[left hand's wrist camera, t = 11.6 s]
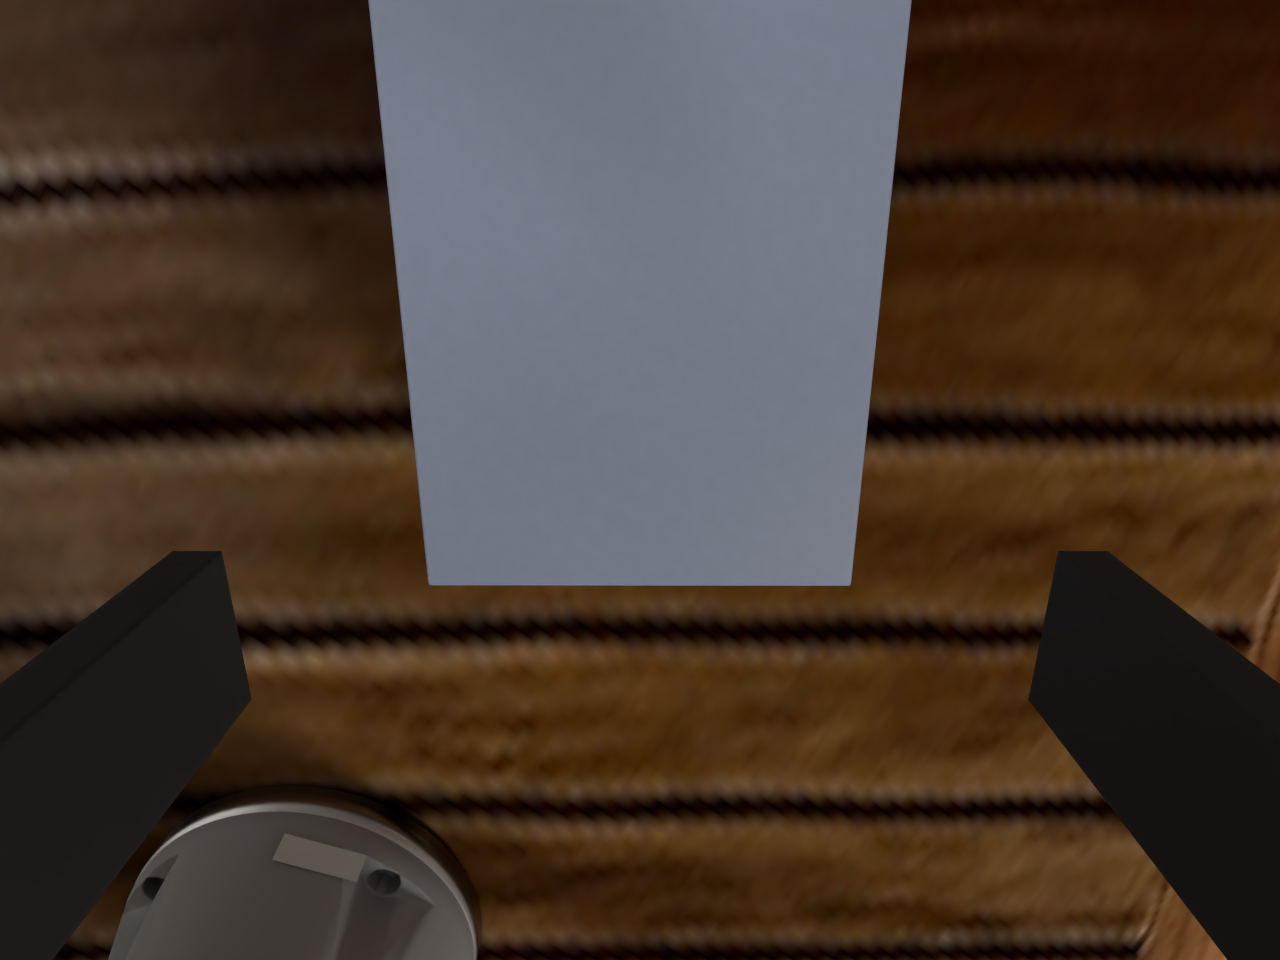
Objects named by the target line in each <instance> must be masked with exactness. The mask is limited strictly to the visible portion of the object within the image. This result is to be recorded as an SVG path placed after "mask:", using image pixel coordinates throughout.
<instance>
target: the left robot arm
mask: <svg viewBox="0 0 1280 960" xmlns="http://www.w3.org/2000/svg"><path fill="white" fill-rule="evenodd" d="M250 701H251V694H250V690H249V685H248V680H247V675H246V670H245V665H244V660H243V655H242V650H241V645H240V640H239V635H238V630H237V625H236V620H235V615H234V610H233V605H232V600H231V596H230V591H229V586H228V581H227V576H226V571H225V566H224V561H223V556H222V551H172V552H171V553H170V554H169V555H167V556H166V557H165V558H163V559H162V560H161V561H159V562H158V563H157V564H156V565H154V566H153V567H152V568H150V569H149V570H148V571H147V572H145V573H144V574H143V575H141V576H140V577H139V578H137V579H136V580H135V581H134V582H132V583H131V584H130V585H128V586H127V587H126V588H124V589H123V590H122V591H121V592H119V593H118V594H117V595H115V596H114V597H113V598H111V599H110V600H109V601H108V602H106V603H105V604H104V605H102V606H101V607H100V608H98V609H97V610H96V611H95V612H93V613H92V614H91V615H89V616H88V617H87V618H86V619H84V620H83V621H82V622H80V623H79V624H78V625H76V626H75V627H74V628H73V629H71V630H70V631H69V632H67V633H66V634H65V635H63V636H62V637H61V638H60V639H58V640H57V641H56V642H54V643H53V644H52V645H50V646H49V647H48V648H47V649H45V650H44V651H43V652H41V653H40V654H39V655H37V656H36V657H35V658H34V659H32V660H31V661H30V662H28V663H27V664H26V665H24V666H23V667H22V668H21V669H19V670H18V671H17V672H15V673H14V674H13V675H12V676H10V677H9V678H8V679H6V680H5V681H4V682H2V683H1V684H0V960H53V958H54V957H55V956H56V954H57V953H58V952H59V951H60V949H61V948H62V947H63V945H64V944H65V943H66V941H67V940H68V939H69V937H70V936H71V935H72V934H73V932H74V931H75V930H76V928H77V927H78V926H79V924H80V923H81V922H82V920H83V919H84V918H85V917H86V915H87V914H88V913H89V911H90V910H91V909H92V907H93V906H94V905H95V903H96V902H97V901H98V900H99V898H100V897H101V896H102V894H103V893H104V892H105V890H106V889H107V888H108V886H109V885H110V884H111V883H112V881H113V880H114V879H115V877H116V876H117V875H118V873H119V872H120V871H121V869H122V868H123V867H124V866H125V864H126V863H127V862H128V860H129V859H130V858H131V856H132V855H133V854H134V852H135V851H136V850H137V849H138V847H139V846H140V845H141V843H142V842H143V841H144V839H145V838H146V837H147V835H148V834H149V833H150V832H151V830H152V829H153V828H154V826H155V825H156V824H157V822H158V821H159V820H160V818H161V817H162V816H163V815H164V813H165V812H166V811H167V809H168V808H169V807H170V805H171V804H172V803H173V801H174V800H175V799H176V798H177V796H178V795H179V794H180V792H181V791H182V790H183V788H184V787H185V786H186V784H187V783H188V782H189V781H190V779H191V778H192V777H193V775H194V774H195V773H196V771H197V770H198V769H199V767H200V766H201V765H202V764H203V762H204V761H205V760H206V758H207V757H208V756H209V754H210V753H211V752H212V750H213V749H214V748H215V747H216V745H217V744H218V743H219V741H220V740H221V739H222V737H223V736H224V735H225V733H226V732H227V731H228V730H229V728H230V727H231V726H232V724H233V723H234V722H235V720H236V719H237V718H238V716H239V715H240V714H241V713H242V711H243V710H244V709H245V707H246V706H247V705H248V703H249V702H250ZM1029 701H1030V702H1031V703H1032V705H1033V706H1034V707H1035V709H1036V710H1037V711H1038V713H1039V714H1040V715H1041V716H1042V718H1043V719H1044V720H1045V722H1046V723H1047V724H1048V726H1049V727H1050V728H1051V730H1052V731H1053V732H1054V733H1055V735H1056V736H1057V737H1058V739H1059V740H1060V741H1061V743H1062V744H1063V745H1064V747H1065V748H1066V749H1067V750H1068V752H1069V753H1070V754H1071V756H1072V757H1073V758H1074V760H1075V761H1076V762H1077V764H1078V765H1079V766H1080V767H1081V769H1082V770H1083V771H1084V773H1085V774H1086V775H1087V777H1088V778H1089V779H1090V781H1091V782H1092V783H1093V784H1094V786H1095V787H1096V788H1097V790H1098V791H1099V792H1100V794H1101V795H1102V796H1103V798H1104V799H1105V800H1106V801H1107V803H1108V804H1109V805H1110V807H1111V808H1112V809H1113V811H1114V812H1115V813H1116V815H1117V816H1118V817H1119V818H1120V820H1121V821H1122V822H1123V824H1124V825H1125V826H1126V828H1127V829H1128V830H1129V832H1130V833H1131V834H1132V835H1133V837H1134V838H1135V839H1136V841H1137V842H1138V843H1139V845H1140V846H1141V847H1142V849H1143V850H1144V851H1145V852H1146V854H1147V855H1148V856H1149V858H1150V859H1151V860H1152V862H1153V863H1154V864H1155V866H1156V867H1157V868H1158V869H1159V871H1160V872H1161V873H1162V875H1163V876H1164V877H1165V879H1166V880H1167V881H1168V883H1169V884H1170V885H1171V886H1172V888H1173V889H1174V890H1175V892H1176V893H1177V894H1178V896H1179V897H1180V898H1181V900H1182V901H1183V902H1184V903H1185V905H1186V906H1187V907H1188V909H1189V910H1190V911H1191V913H1192V914H1193V915H1194V917H1195V918H1196V919H1197V920H1198V922H1199V923H1200V924H1201V926H1202V927H1203V928H1204V930H1205V931H1206V932H1207V934H1208V935H1209V936H1210V937H1211V939H1212V940H1213V941H1214V943H1215V944H1216V945H1217V947H1218V948H1219V949H1220V951H1221V952H1222V953H1223V954H1224V956H1225V957H1226V958H1227V960H1280V684H1279V683H1278V682H1276V681H1275V680H1274V679H1272V678H1271V677H1270V676H1268V675H1267V674H1266V673H1265V672H1263V671H1262V670H1261V669H1259V668H1258V667H1257V666H1255V665H1254V664H1253V663H1252V662H1250V661H1249V660H1248V659H1246V658H1245V657H1244V656H1243V655H1241V654H1240V653H1239V652H1237V651H1236V650H1235V649H1233V648H1232V647H1231V646H1230V645H1228V644H1227V643H1226V642H1224V641H1223V640H1222V639H1220V638H1219V637H1218V636H1217V635H1215V634H1214V633H1213V632H1211V631H1210V630H1209V629H1207V628H1206V627H1205V626H1204V625H1202V624H1201V623H1200V622H1198V621H1197V620H1196V619H1194V618H1193V617H1192V616H1191V615H1189V614H1188V613H1187V612H1185V611H1184V610H1183V609H1182V608H1180V607H1179V606H1178V605H1176V604H1175V603H1174V602H1172V601H1171V600H1170V599H1169V598H1167V597H1166V596H1165V595H1163V594H1162V593H1161V592H1159V591H1158V590H1157V589H1156V588H1154V587H1153V586H1152V585H1150V584H1149V583H1148V582H1146V581H1145V580H1144V579H1143V578H1141V577H1140V576H1139V575H1137V574H1136V573H1135V572H1133V571H1132V570H1131V569H1130V568H1128V567H1127V566H1126V565H1124V564H1123V563H1122V562H1121V561H1119V560H1118V559H1117V558H1115V557H1114V556H1113V555H1111V554H1110V553H1109V552H1108V551H1058V556H1057V561H1056V566H1055V571H1054V576H1053V581H1052V586H1051V591H1050V596H1049V600H1048V605H1047V610H1046V615H1045V620H1044V625H1043V630H1042V635H1041V640H1040V645H1039V650H1038V655H1037V660H1036V665H1035V670H1034V675H1033V680H1032V685H1031V690H1030V694H1029ZM481 932H482V922H481V912H480V907H479V903H478V899H477V896H476V893H475V891H474V888H473V886H472V884H471V882H470V880H469V878H468V876H467V874H466V873H465V871H464V870H463V868H462V866H461V865H460V863H459V862H458V861H457V860H456V858H455V857H454V856H453V855H452V853H451V852H450V851H449V850H448V849H447V848H446V847H445V846H444V845H443V844H442V843H441V842H440V841H439V840H438V839H437V838H435V837H434V836H433V835H432V834H431V833H430V832H428V831H427V830H426V829H424V828H423V827H421V826H420V825H419V824H417V823H416V822H414V821H413V820H411V819H409V818H408V817H406V816H404V815H403V814H401V813H399V812H397V811H395V810H393V809H391V808H389V807H387V806H385V805H382V804H380V803H377V802H375V801H372V800H370V799H367V798H364V797H361V796H358V795H354V794H351V793H347V792H342V791H338V790H333V789H327V788H321V787H311V786H271V787H262V788H256V789H249V790H245V791H241V792H237V793H233V794H231V795H228V796H225V797H222V798H219V799H217V800H215V801H213V802H210V803H208V804H206V805H204V806H203V807H201V808H199V809H198V810H196V811H194V812H193V813H191V814H190V815H189V816H187V817H186V818H185V819H183V820H182V821H181V822H180V823H179V824H178V825H177V826H176V827H175V828H174V829H173V830H172V831H171V832H170V833H169V834H168V836H167V837H166V838H165V839H164V841H163V842H162V843H161V845H160V846H159V847H158V849H157V850H156V851H155V853H154V854H153V855H152V857H151V858H150V860H149V861H148V862H147V864H146V865H145V866H144V868H143V870H142V871H141V873H140V875H139V876H138V878H137V880H136V883H135V885H134V887H133V889H132V891H131V893H130V895H129V898H128V900H127V902H126V905H125V908H124V912H123V915H122V918H121V921H120V924H119V927H118V930H117V933H116V937H115V940H114V943H113V946H112V949H111V953H110V956H109V959H108V960H477V956H478V952H479V947H480V941H481Z"/></svg>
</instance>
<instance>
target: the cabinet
mask: <svg viewBox="0 0 1280 960" xmlns="http://www.w3.org/2000/svg"><path fill="white" fill-rule="evenodd" d="M368 1H369V10H370V20H371V30H372V40H373V49H374V59H375V69H376V78H377V88H378V98H379V108H380V117H381V127H382V137H383V146H384V156H385V166H386V176H387V185H388V195H389V205H390V215H391V224H392V234H393V244H394V253H395V263H396V273H397V283H398V292H399V302H400V312H401V321H402V331H403V341H404V351H405V360H406V370H407V380H408V390H409V399H410V409H411V419H412V428H413V438H414V448H415V458H416V467H417V477H418V487H419V496H420V506H421V516H422V526H423V535H424V545H425V555H426V564H427V574H428V583H429V585H760V586H849V585H850V584H851V577H852V568H853V558H854V548H855V539H856V529H857V520H858V510H859V500H860V491H861V481H862V471H863V462H864V452H865V443H866V433H867V423H868V414H869V404H870V394H871V385H872V375H873V366H874V356H875V346H876V337H877V327H878V317H879V308H880V298H881V289H882V279H883V269H884V260H885V250H886V240H887V231H888V221H889V212H890V202H891V192H892V183H893V173H894V163H895V154H896V144H897V134H898V125H899V115H900V106H901V96H902V86H903V77H904V67H905V57H906V48H907V38H908V29H909V19H910V9H911V0H368Z"/></svg>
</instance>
